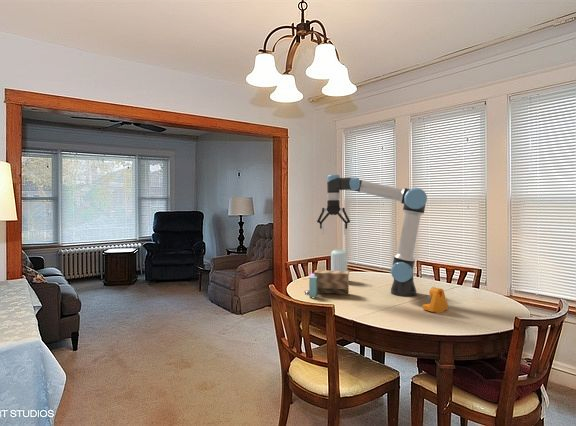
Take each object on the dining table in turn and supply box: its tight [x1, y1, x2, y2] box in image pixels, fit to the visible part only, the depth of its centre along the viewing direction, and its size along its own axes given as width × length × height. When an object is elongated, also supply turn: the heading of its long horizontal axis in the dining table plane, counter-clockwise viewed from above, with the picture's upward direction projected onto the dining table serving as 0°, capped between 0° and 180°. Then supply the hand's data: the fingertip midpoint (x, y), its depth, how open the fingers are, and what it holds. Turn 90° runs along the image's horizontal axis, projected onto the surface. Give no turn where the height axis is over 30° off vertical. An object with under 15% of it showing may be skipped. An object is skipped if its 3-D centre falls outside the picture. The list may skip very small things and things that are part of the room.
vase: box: [330, 249, 348, 271], centre depth 266 cm, size 12×12×22 cm
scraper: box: [308, 275, 318, 298], centre depth 225 cm, size 4×11×12 cm, turn 167°
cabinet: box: [313, 269, 350, 295], centre depth 228 cm, size 21×8×14 cm, turn 77°
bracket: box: [422, 286, 448, 314], centre depth 193 cm, size 11×7×12 cm, turn 117°
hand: (333, 234), depth 230 cm, fingers open, 13 cm apart
